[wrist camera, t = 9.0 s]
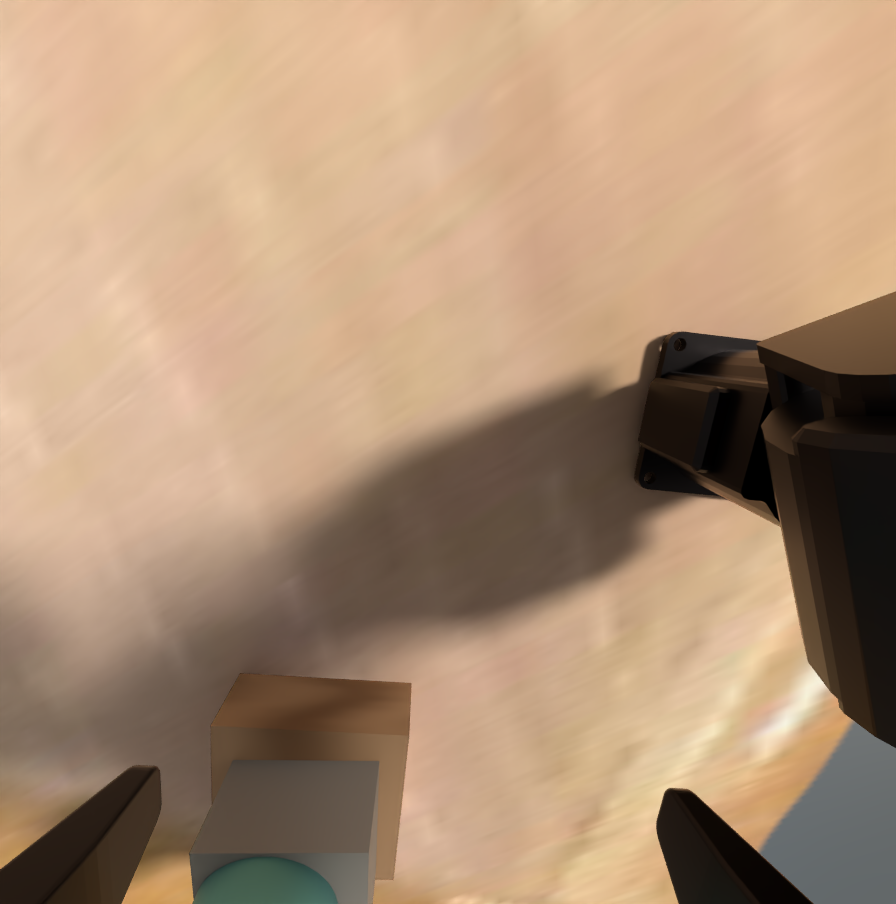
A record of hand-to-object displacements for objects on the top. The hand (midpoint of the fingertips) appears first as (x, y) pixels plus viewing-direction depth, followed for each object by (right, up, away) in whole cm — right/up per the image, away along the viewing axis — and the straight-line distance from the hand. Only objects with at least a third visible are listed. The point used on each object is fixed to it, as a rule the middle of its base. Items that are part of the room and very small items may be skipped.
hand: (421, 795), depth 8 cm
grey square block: (-6, -10, +11) cm, 16 cm away
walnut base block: (-6, -8, +15) cm, 18 cm away
